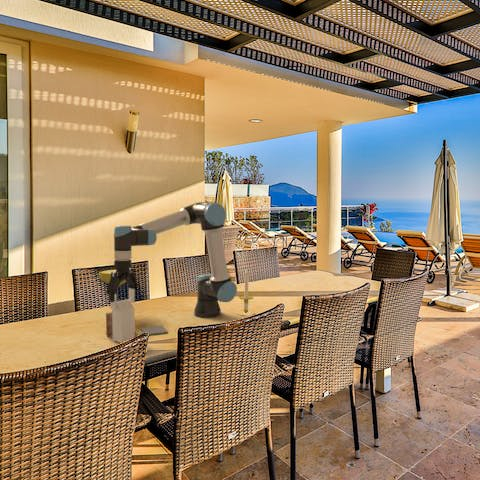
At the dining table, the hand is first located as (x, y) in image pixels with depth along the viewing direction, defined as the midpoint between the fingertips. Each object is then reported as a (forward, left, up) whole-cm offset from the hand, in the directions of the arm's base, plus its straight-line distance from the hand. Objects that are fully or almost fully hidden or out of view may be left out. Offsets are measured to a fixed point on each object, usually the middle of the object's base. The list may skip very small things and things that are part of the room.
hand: (122, 305), depth 191 cm
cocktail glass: (-3, -44, -17) cm, 47 cm away
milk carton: (0, 0, -17) cm, 17 cm away
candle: (-72, -20, -17) cm, 77 cm away
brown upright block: (0, -10, -17) cm, 19 cm away
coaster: (-16, -8, -17) cm, 25 cm away
